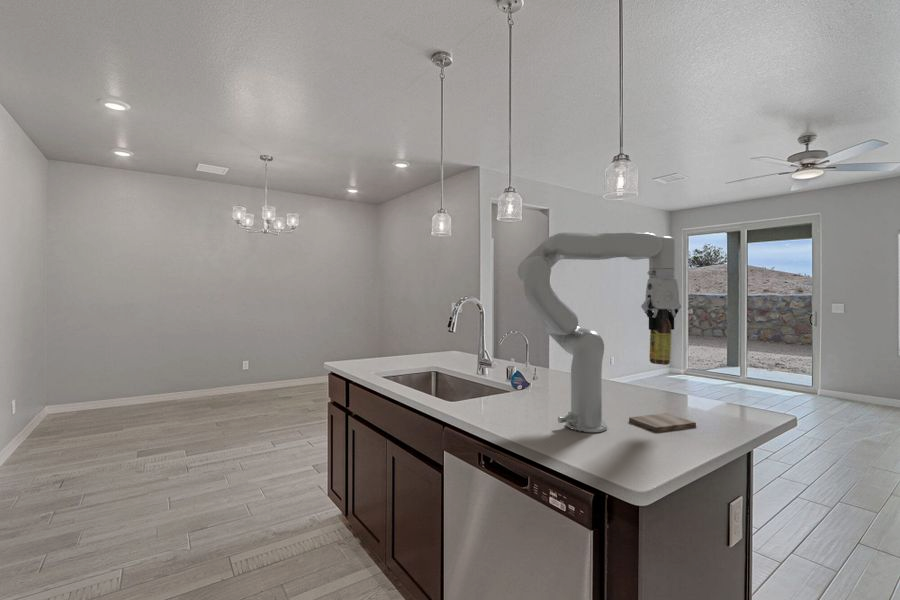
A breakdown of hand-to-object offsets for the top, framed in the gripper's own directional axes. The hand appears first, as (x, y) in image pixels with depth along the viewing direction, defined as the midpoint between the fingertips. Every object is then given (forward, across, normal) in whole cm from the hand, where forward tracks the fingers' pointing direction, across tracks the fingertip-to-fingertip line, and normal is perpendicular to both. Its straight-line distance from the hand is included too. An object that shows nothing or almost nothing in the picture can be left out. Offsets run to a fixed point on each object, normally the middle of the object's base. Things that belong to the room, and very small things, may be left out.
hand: (661, 329), depth 144 cm
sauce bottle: (+12, 0, 0) cm, 12 cm away
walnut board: (+31, 0, 0) cm, 31 cm away
